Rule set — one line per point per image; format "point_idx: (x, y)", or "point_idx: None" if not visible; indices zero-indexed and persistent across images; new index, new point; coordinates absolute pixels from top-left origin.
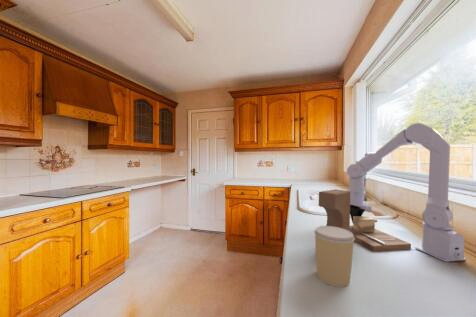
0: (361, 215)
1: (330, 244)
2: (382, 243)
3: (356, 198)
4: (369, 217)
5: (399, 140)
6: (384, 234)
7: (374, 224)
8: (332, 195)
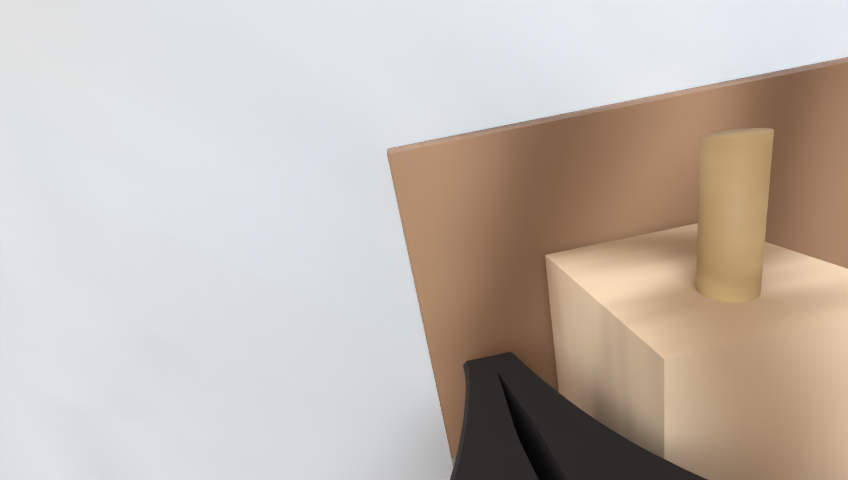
0: (628, 445)
1: None
2: None
3: None
4: (796, 342)
5: None
6: (797, 133)
7: (805, 257)
8: None
